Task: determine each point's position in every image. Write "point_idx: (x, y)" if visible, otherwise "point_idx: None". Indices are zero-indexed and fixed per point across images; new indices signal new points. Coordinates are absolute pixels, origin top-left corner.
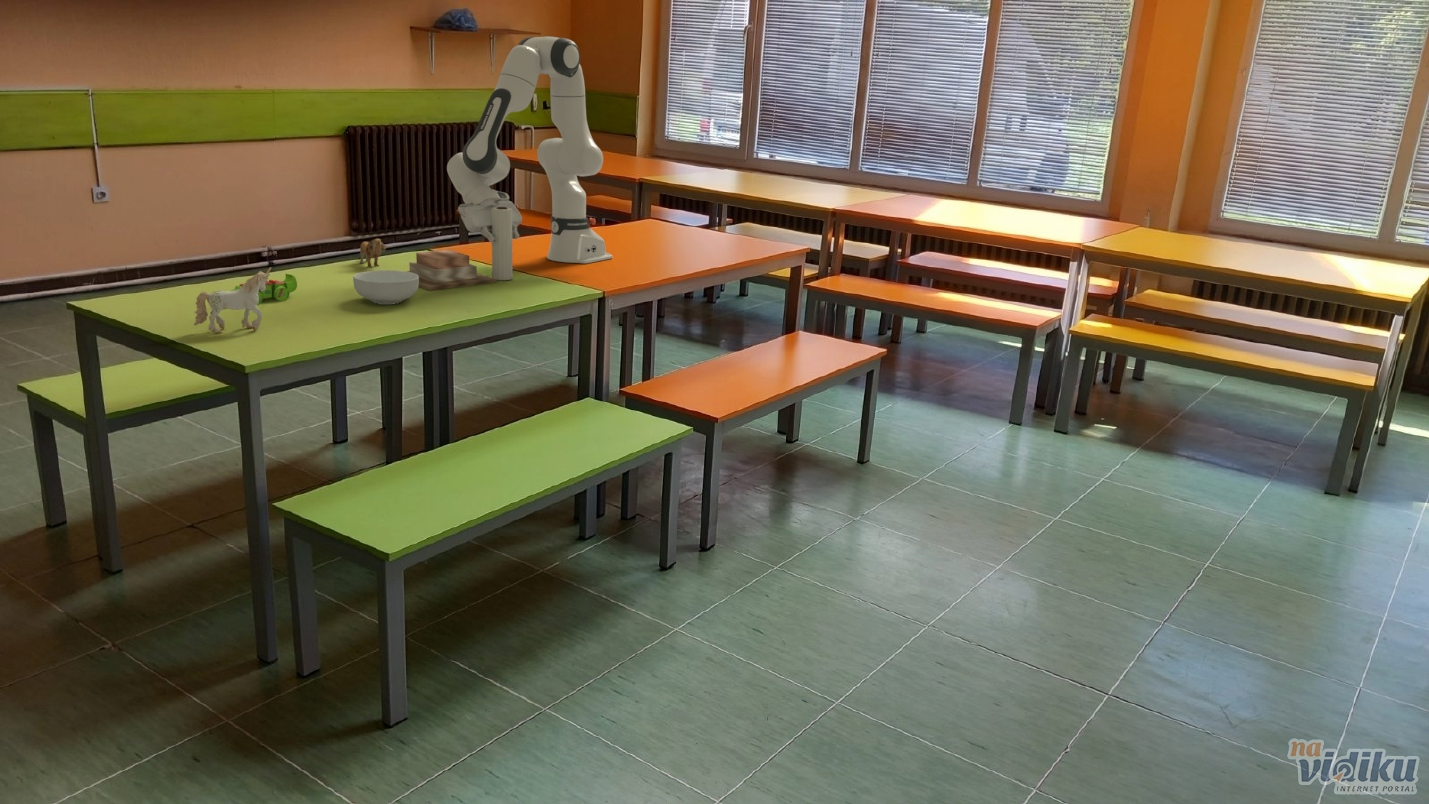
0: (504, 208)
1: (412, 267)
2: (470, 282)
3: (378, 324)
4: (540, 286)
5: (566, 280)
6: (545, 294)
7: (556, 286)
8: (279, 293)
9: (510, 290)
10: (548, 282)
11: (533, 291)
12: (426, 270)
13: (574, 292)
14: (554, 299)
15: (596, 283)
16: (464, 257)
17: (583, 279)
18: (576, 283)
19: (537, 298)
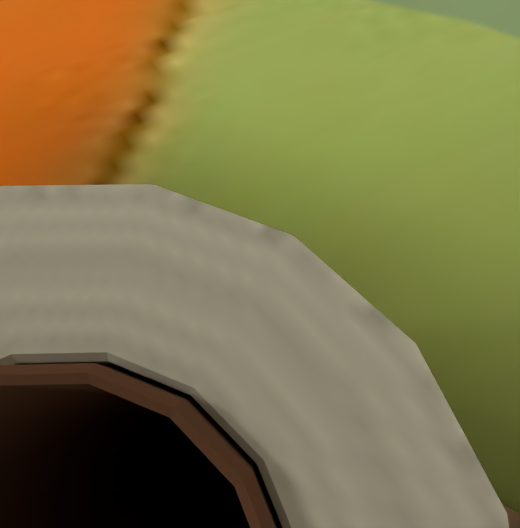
0: (181, 407)
1: None
2: (503, 505)
3: None
4: (282, 178)
5: (90, 136)
6: (414, 96)
7: (240, 121)
8: None
9: (448, 255)
10: (178, 185)
11: (396, 159)
12: None
13: (306, 21)
14: (469, 35)
15: (89, 14)
16: None
17: (31, 84)
18: (132, 77)
19: (501, 92)
